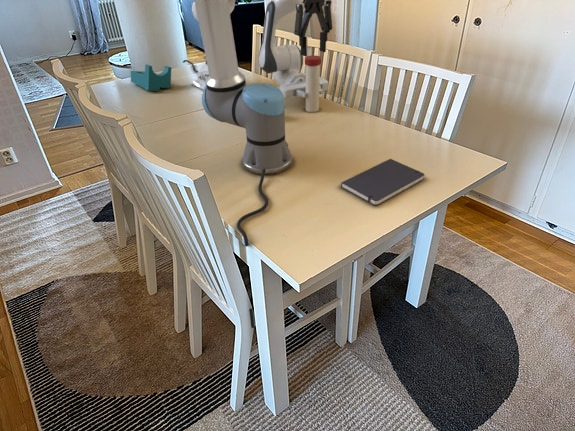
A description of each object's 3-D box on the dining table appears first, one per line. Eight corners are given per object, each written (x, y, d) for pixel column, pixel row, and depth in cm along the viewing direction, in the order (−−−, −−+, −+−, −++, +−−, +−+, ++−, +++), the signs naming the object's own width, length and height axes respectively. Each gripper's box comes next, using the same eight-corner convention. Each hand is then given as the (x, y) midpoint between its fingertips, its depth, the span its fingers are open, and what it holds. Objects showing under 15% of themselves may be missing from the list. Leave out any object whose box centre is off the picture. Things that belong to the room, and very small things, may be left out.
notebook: (389, 163, 124) (340, 187, 113) (390, 158, 123) (341, 182, 112) (424, 178, 116) (375, 206, 105) (425, 174, 115) (376, 201, 104)
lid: (301, 63, 152) (301, 56, 151) (315, 60, 155) (315, 54, 153) (310, 66, 148) (310, 60, 147) (324, 64, 150) (324, 58, 149)
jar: (302, 108, 163) (302, 58, 151) (314, 106, 165) (315, 56, 153) (310, 113, 159) (310, 61, 147) (321, 110, 161) (322, 59, 149)
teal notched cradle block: (170, 90, 188) (171, 67, 184) (148, 90, 181) (148, 66, 177) (152, 82, 199) (152, 60, 195) (130, 81, 192) (130, 58, 187)
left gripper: (274, 80, 162) (289, 90, 152) (318, 72, 169) (335, 81, 159) (274, 95, 165) (290, 106, 155) (317, 87, 173) (335, 97, 163)
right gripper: (294, -13, 129) (295, 60, 142) (345, -20, 138) (341, 50, 151) (282, -16, 134) (284, 56, 147) (331, -21, 143) (329, 46, 156)
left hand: (313, 93), depth 157 cm, fingers closed on jar, 5 cm apart
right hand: (313, 53), depth 149 cm, fingers open, 8 cm apart
